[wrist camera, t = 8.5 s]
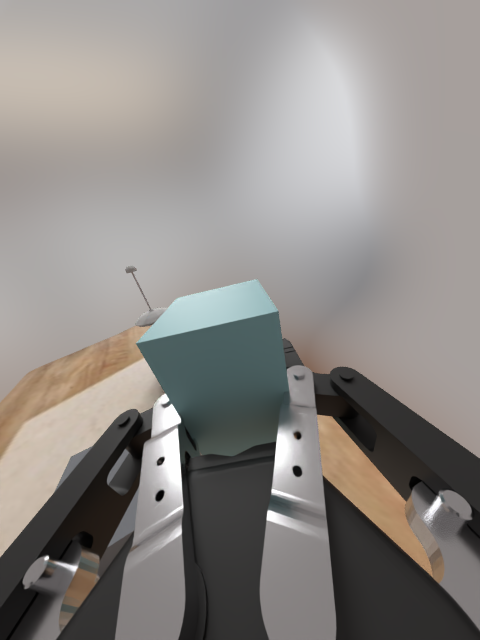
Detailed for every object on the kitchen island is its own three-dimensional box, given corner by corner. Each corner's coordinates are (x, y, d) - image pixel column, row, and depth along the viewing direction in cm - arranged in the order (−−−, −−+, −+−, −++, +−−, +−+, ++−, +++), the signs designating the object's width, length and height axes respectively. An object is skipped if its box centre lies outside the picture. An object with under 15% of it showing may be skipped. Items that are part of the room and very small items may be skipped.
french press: (162, 384, 38) (96, 274, 28) (154, 361, 48) (103, 272, 37) (201, 361, 42) (158, 258, 32) (187, 344, 52) (150, 260, 41)
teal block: (225, 494, 11) (135, 343, 6) (226, 420, 16) (176, 298, 10) (301, 480, 11) (278, 311, 6) (280, 409, 15) (257, 279, 10)
